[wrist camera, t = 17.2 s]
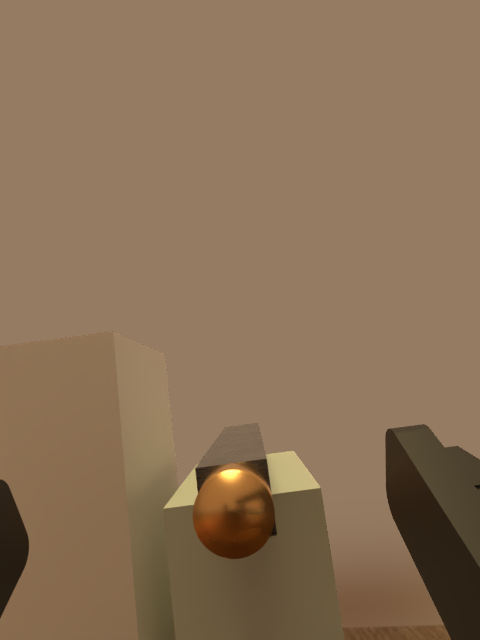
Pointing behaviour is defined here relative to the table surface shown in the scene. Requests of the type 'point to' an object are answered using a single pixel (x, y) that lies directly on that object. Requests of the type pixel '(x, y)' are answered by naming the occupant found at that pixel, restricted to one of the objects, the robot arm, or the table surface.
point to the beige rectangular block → (256, 568)
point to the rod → (234, 494)
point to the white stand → (88, 487)
